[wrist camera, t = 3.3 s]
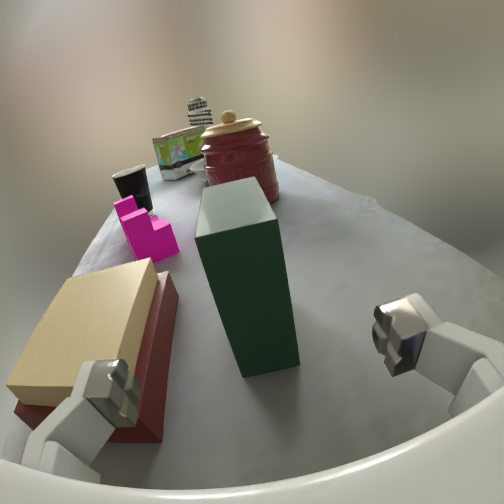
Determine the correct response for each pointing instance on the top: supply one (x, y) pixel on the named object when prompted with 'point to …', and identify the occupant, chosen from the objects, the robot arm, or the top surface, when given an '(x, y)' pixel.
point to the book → (247, 275)
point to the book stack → (102, 343)
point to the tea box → (179, 151)
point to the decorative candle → (199, 113)
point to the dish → (199, 169)
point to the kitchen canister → (239, 154)
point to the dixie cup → (135, 186)
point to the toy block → (145, 231)
